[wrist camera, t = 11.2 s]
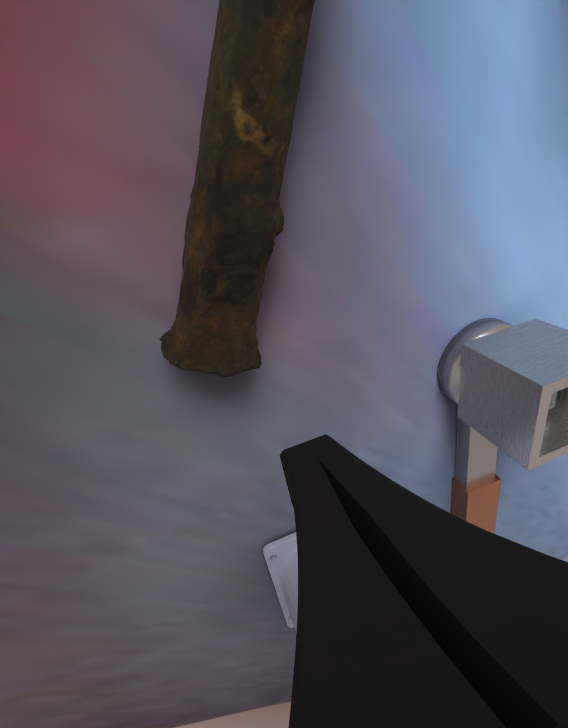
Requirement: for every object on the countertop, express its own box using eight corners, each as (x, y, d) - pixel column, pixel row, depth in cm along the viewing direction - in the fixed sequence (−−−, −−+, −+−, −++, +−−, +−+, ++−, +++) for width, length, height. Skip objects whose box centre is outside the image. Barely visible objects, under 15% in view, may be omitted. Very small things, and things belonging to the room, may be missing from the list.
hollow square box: (524, 391, 24) (605, 437, 20) (457, 416, 23) (527, 470, 19) (535, 318, 22) (630, 352, 18) (461, 343, 21) (542, 386, 17)
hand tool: (242, 349, 19) (269, 394, 15) (158, 339, 18) (163, 386, 14) (366, -187, 13) (470, -357, 9) (248, -280, 11) (309, -541, 7)
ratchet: (437, 333, 22) (499, 367, 18) (517, 306, 23) (592, 332, 19) (435, 560, 32) (474, 612, 29) (490, 534, 33) (535, 581, 30)
